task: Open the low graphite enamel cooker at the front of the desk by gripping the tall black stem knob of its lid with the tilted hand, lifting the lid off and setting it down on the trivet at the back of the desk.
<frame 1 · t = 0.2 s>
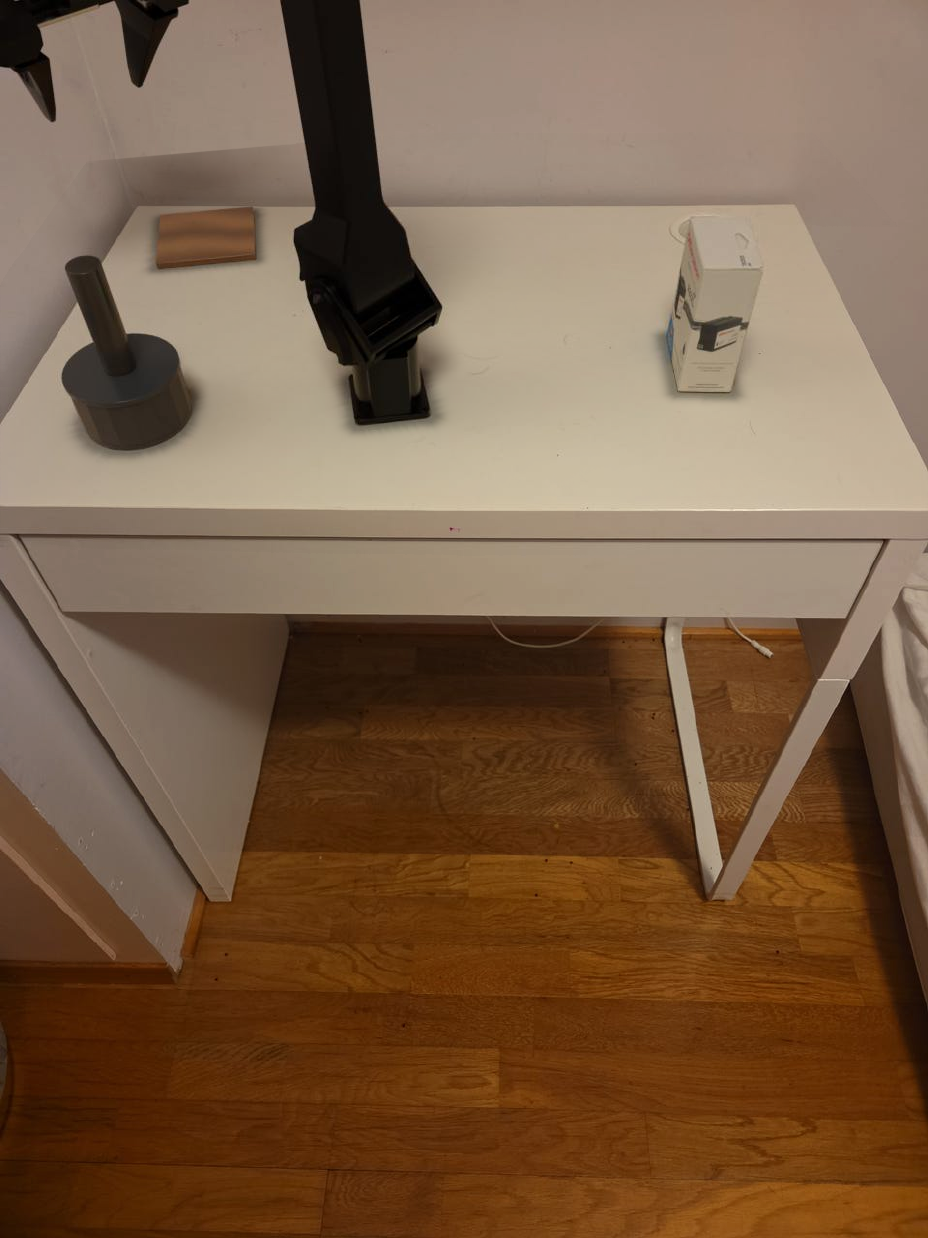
hand: (94, 101, 80), 15 cm above the table, tool pointing down, fingers open, 9 cm apart
cooker: (138, 415, 77), on the table
trivet: (207, 238, 95), on the table
ink box: (697, 365, 81), on the table
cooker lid: (122, 371, 73), point 4 cm above the table, touching cooker
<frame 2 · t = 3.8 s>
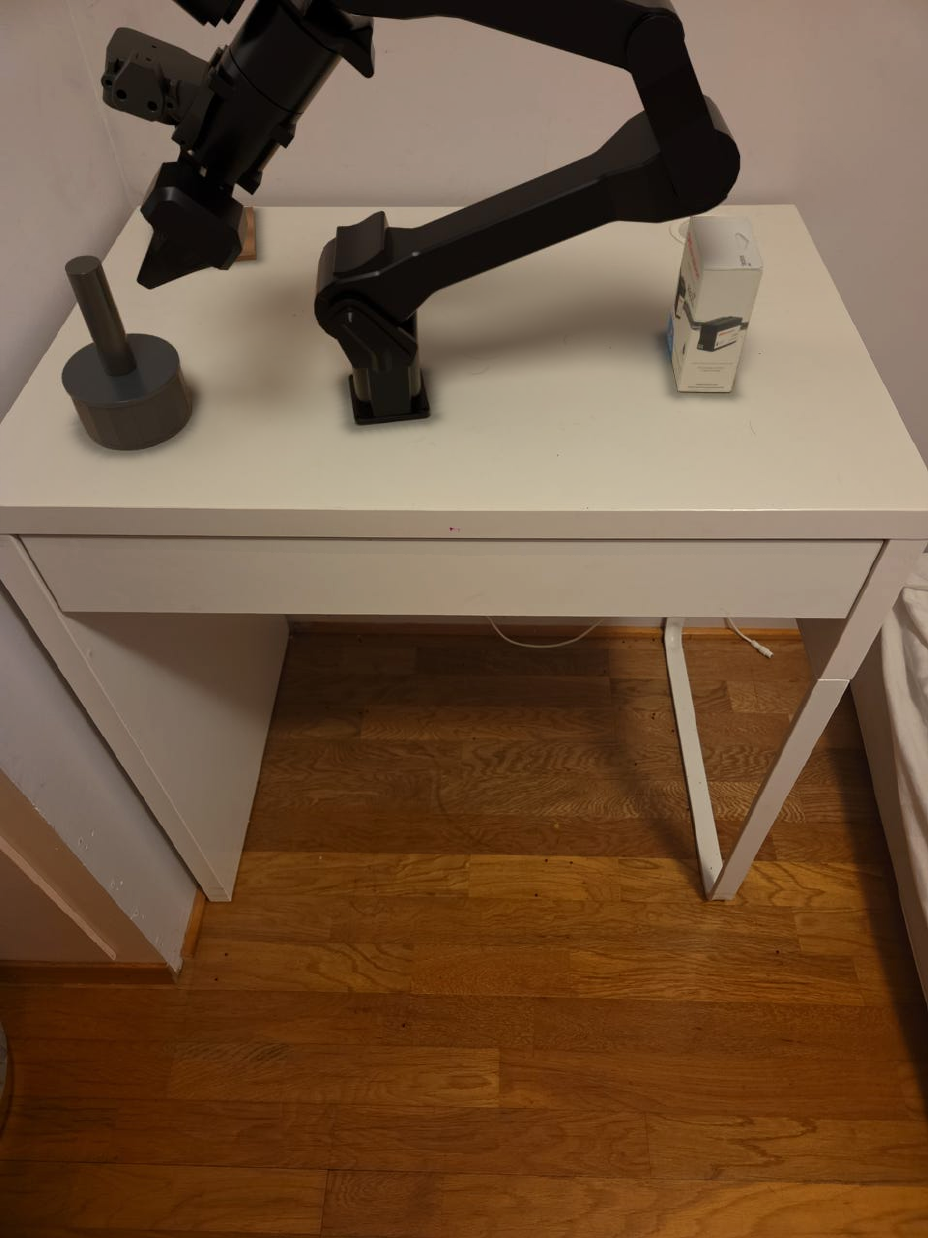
hand: (154, 250, 66), 14 cm above the table, tool tilted 45°, fingers open, 9 cm apart
nothing on the table moved.
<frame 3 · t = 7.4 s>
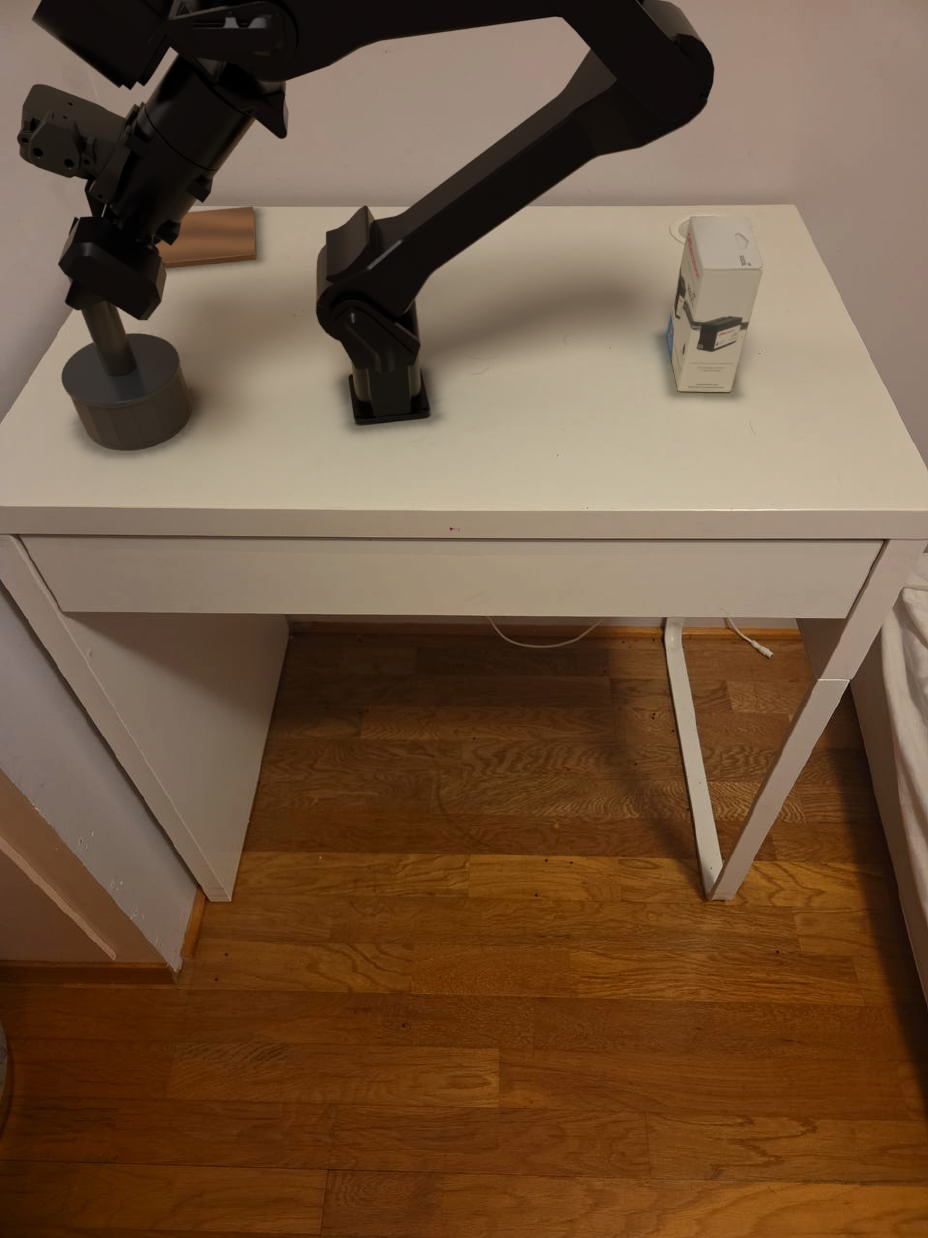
hand: (74, 294, 68), 12 cm above the table, tool tilted 45°, fingers closed on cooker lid, 2 cm apart
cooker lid: (122, 371, 73), point 5 cm above the table, touching cooker, gripper
everything else where it was.
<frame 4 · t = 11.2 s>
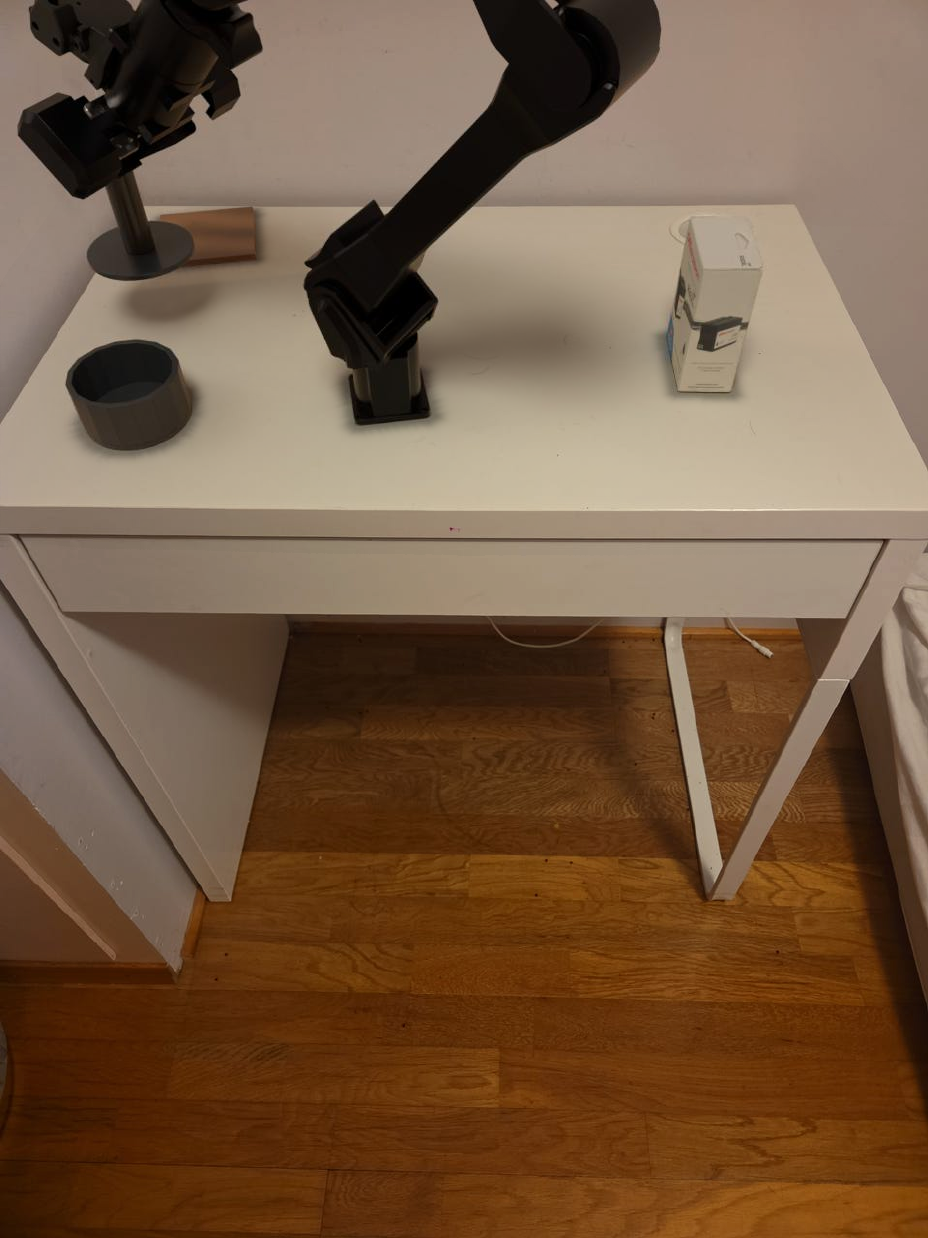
hand: (105, 169, 75), 14 cm above the table, tool tilted 45°, fingers closed on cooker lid, 2 cm apart
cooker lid: (142, 252, 81), point 7 cm above the table, touching gripper
everything else where it was.
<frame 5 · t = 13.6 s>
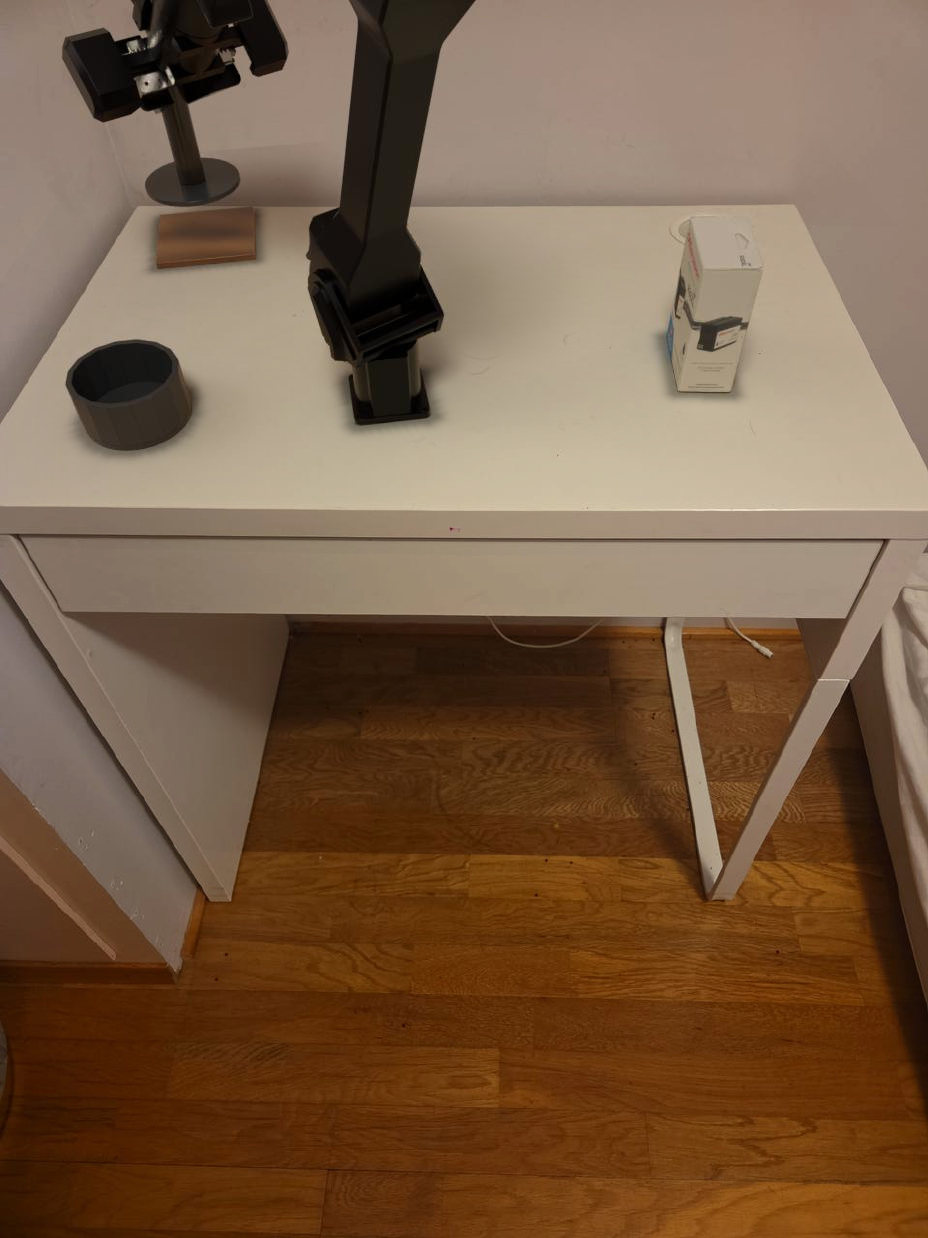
hand: (168, 104, 85), 13 cm above the table, tool tilted 45°, fingers closed on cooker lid, 2 cm apart
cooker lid: (193, 183, 90), point 6 cm above the table, touching gripper
everything else where it was.
when the fingers open (8 cm above the table, at t = 15.2 s): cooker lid stays where it is, resting on trivet.
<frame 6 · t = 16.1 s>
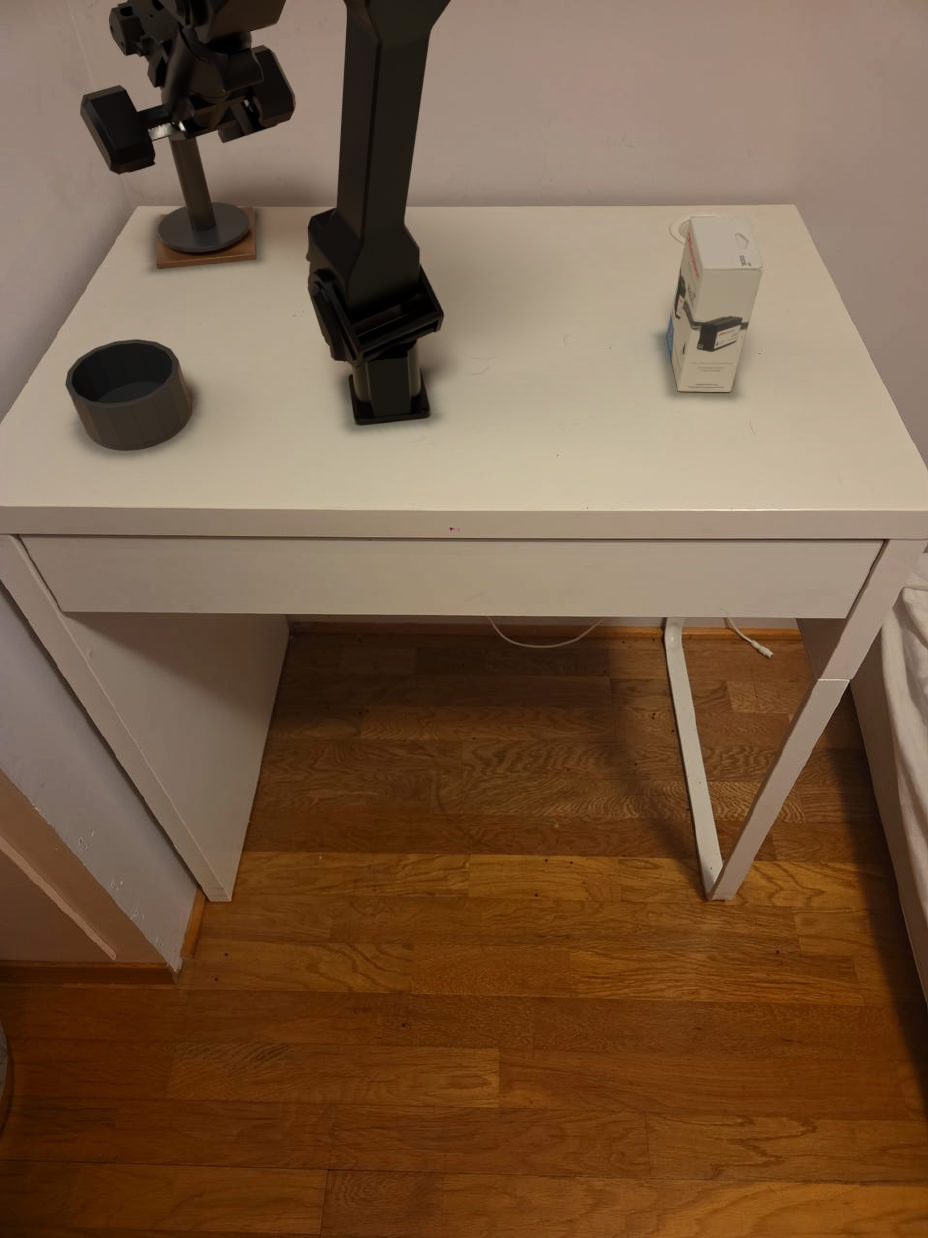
hand: (180, 150, 89), 9 cm above the table, tool tilted 45°, fingers open, 9 cm apart
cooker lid: (204, 228, 94), point 1 cm above the table, touching trivet
everything else where it was.
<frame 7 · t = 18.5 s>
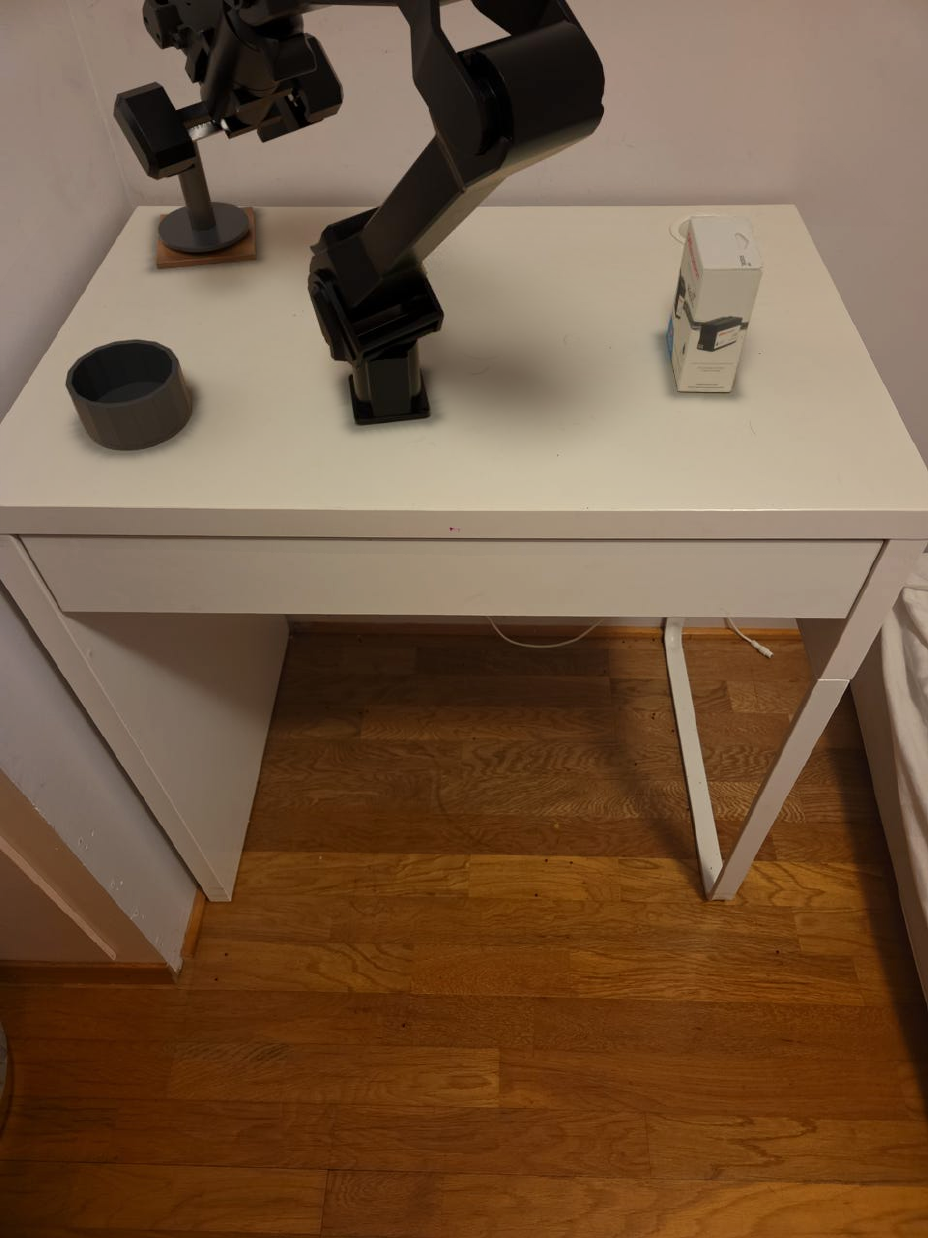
hand: (217, 152, 82), 12 cm above the table, tool tilted 45°, fingers open, 9 cm apart
nothing on the table moved.
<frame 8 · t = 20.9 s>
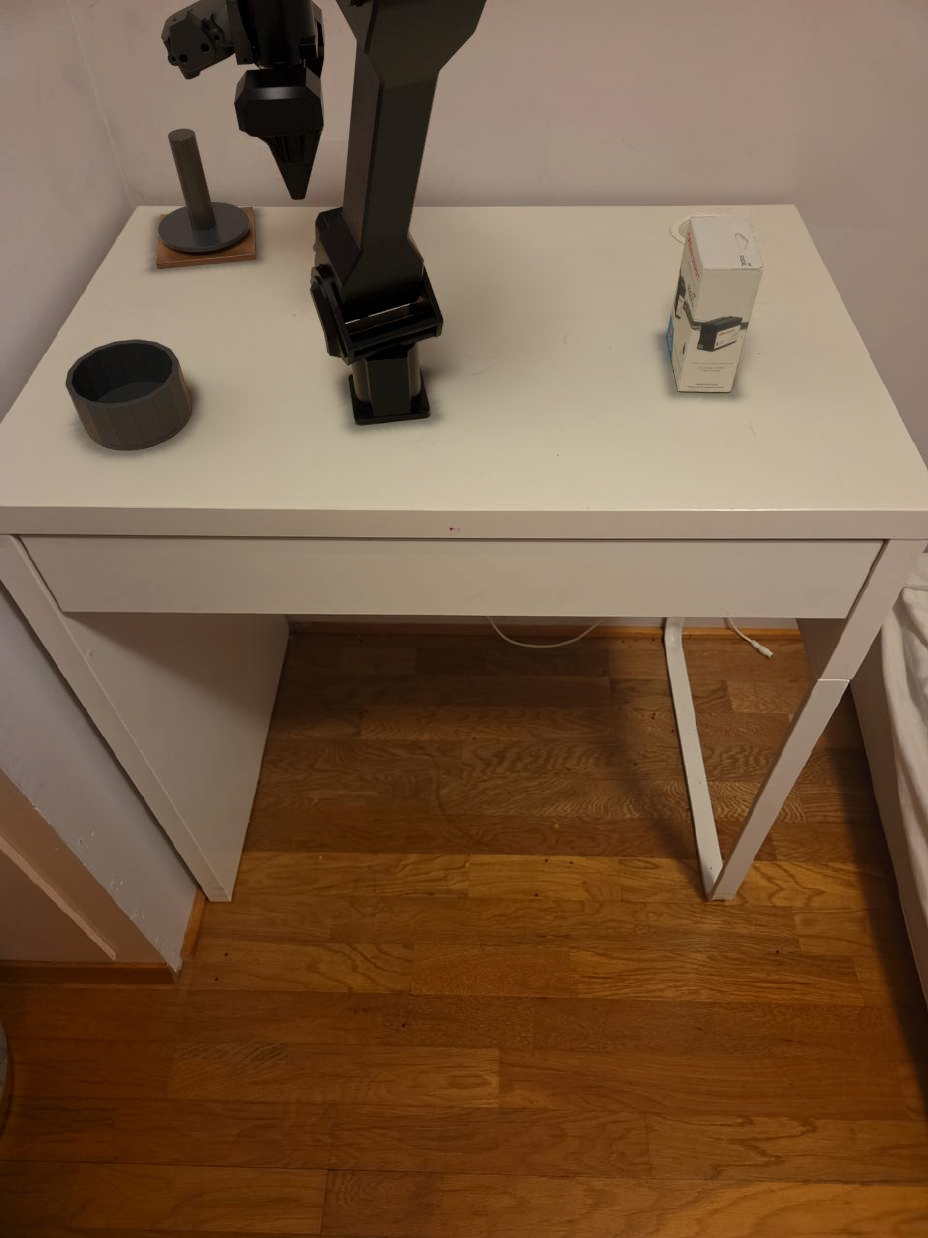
hand: (299, 172, 76), 13 cm above the table, tool pointing down, fingers open, 9 cm apart
nothing on the table moved.
at the end: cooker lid inside the target area on the trivet (0.1 cm from its centre), point 1.2 cm above the trivet's base; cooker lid tilted 0°; the gripper is holding nothing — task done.
